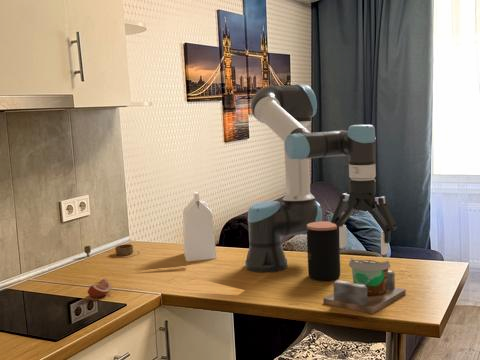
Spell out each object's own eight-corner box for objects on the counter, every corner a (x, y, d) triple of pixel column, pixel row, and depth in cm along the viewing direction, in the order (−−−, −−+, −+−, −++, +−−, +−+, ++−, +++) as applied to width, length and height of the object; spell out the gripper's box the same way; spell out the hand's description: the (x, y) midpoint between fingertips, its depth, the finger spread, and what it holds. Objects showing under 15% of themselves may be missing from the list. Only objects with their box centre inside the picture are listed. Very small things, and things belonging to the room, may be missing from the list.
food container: (343, 294, 173) (342, 261, 172) (351, 288, 178) (350, 256, 177) (384, 300, 167) (383, 265, 165) (391, 293, 172) (390, 260, 170)
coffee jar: (316, 271, 204) (314, 220, 201) (345, 274, 198) (343, 222, 196) (303, 279, 195) (301, 226, 192) (333, 283, 189) (331, 228, 187)
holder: (323, 303, 171) (322, 280, 170) (358, 285, 186) (357, 264, 185) (372, 314, 160) (372, 289, 159) (405, 294, 175) (405, 271, 174)
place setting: (125, 264, 227) (124, 249, 227) (82, 262, 235) (81, 247, 234) (148, 253, 243) (147, 239, 243) (107, 251, 251) (106, 237, 250)
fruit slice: (98, 291, 193) (97, 277, 192) (116, 293, 191) (115, 278, 190) (83, 300, 185) (82, 284, 184) (102, 301, 183) (101, 285, 182)
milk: (183, 255, 234) (179, 191, 231) (212, 253, 236) (208, 189, 233) (186, 263, 223) (182, 195, 219) (216, 260, 225) (212, 193, 221)
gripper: (318, 177, 174) (320, 247, 177) (396, 183, 158) (396, 259, 160) (332, 174, 179) (333, 242, 182) (408, 179, 163) (409, 253, 166)
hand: (363, 250), depth 171 cm, fingers open, 13 cm apart
